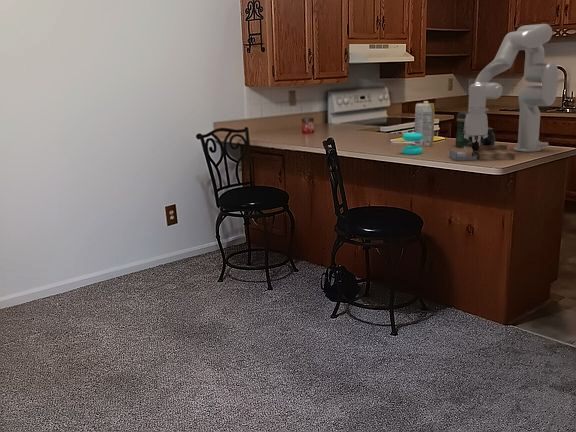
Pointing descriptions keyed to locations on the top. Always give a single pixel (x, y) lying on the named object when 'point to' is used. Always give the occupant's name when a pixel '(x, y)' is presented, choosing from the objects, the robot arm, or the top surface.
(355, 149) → the top surface
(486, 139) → the supplement bottle
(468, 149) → the tile
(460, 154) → the tile
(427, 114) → the juice carton
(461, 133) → the coffee jar
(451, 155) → the box
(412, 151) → the donuts
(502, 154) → the board
